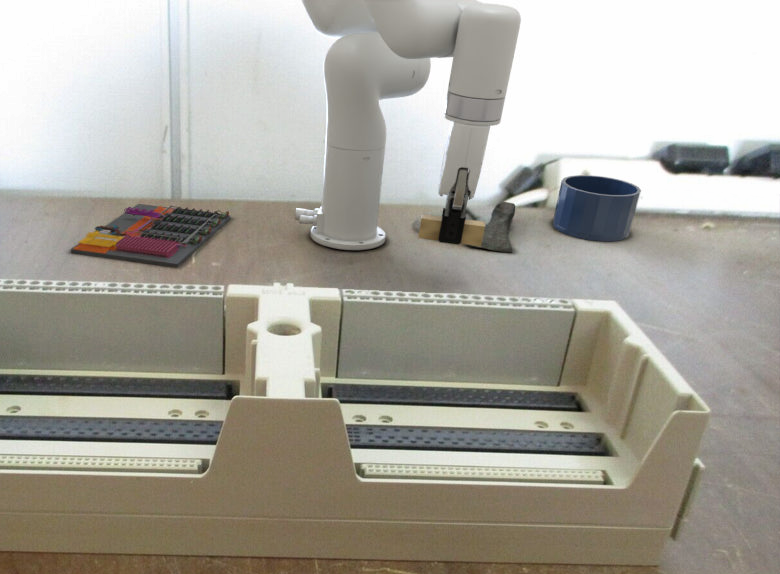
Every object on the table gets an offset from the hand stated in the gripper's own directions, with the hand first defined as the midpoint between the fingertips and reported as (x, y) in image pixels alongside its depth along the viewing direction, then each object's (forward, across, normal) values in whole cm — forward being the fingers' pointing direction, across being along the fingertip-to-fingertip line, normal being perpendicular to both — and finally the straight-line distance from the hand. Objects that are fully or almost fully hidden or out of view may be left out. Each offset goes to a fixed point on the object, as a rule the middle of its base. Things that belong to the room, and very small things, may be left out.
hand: (449, 238), depth 111 cm
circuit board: (+8, -6, -47) cm, 48 cm away
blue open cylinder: (+7, -33, +26) cm, 43 cm away
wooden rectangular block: (0, 0, 0) cm, 0 cm away
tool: (+7, -25, +10) cm, 28 cm away
